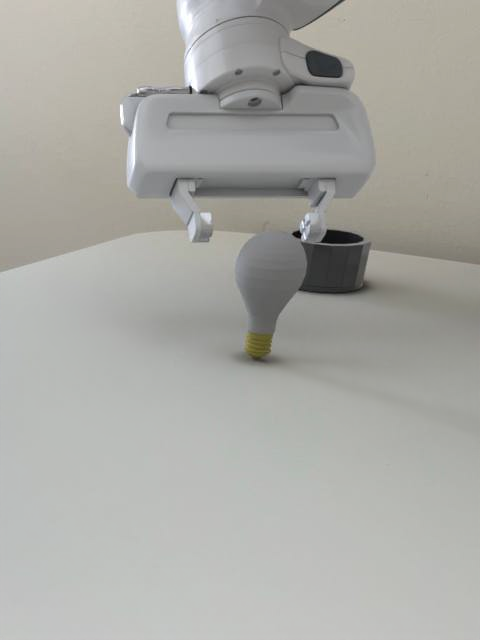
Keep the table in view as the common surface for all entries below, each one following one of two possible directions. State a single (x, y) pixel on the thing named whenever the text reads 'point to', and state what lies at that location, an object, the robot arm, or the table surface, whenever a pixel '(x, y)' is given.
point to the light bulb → (268, 283)
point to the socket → (335, 260)
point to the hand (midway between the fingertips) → (258, 238)
